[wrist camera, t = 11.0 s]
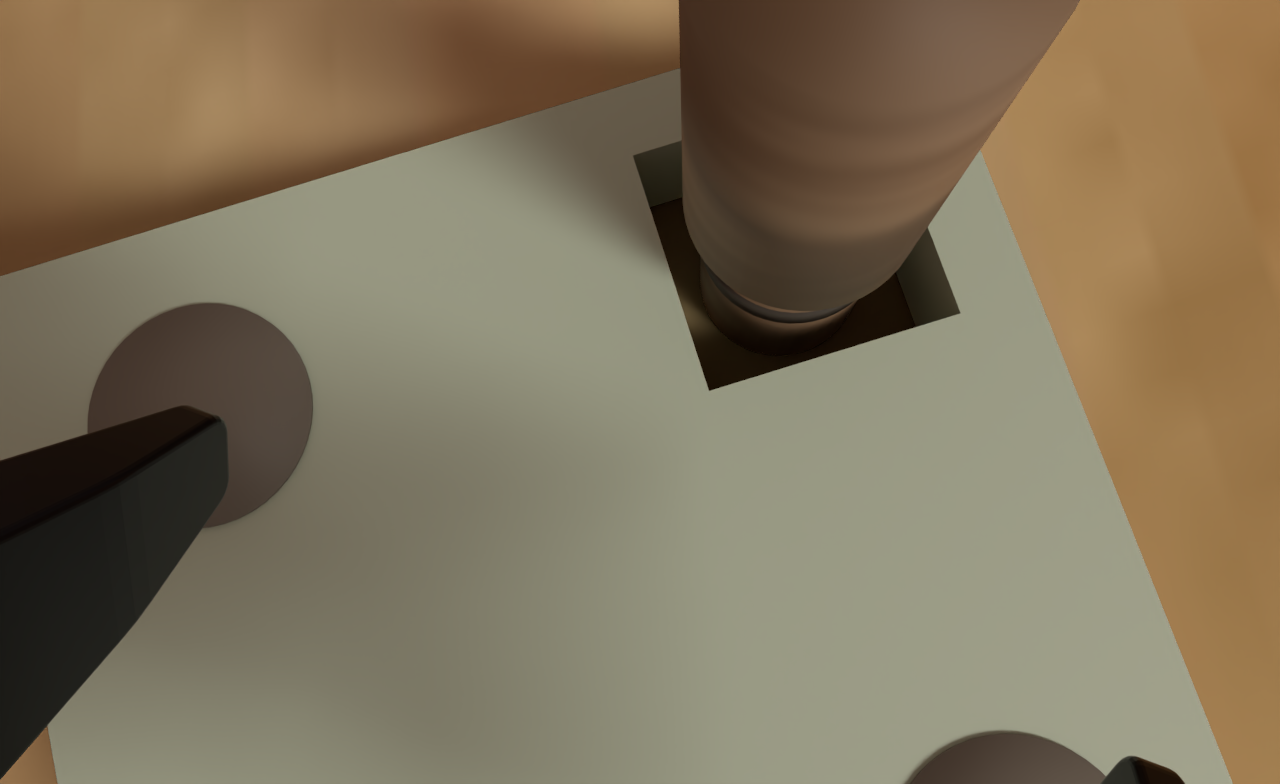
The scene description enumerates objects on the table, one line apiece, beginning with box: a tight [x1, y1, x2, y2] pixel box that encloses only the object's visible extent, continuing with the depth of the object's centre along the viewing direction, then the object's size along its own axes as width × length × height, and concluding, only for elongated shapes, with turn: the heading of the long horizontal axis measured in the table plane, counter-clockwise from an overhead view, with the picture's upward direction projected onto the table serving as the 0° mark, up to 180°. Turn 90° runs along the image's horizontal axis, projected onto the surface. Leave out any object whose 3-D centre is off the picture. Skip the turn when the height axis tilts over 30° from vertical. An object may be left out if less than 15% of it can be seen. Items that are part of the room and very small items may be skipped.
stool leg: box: [679, 0, 1080, 356], centre depth 16 cm, size 4×4×12 cm
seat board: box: [0, 68, 1233, 784], centre depth 20 cm, size 20×20×3 cm
